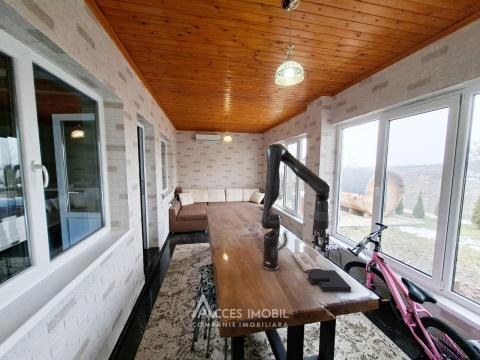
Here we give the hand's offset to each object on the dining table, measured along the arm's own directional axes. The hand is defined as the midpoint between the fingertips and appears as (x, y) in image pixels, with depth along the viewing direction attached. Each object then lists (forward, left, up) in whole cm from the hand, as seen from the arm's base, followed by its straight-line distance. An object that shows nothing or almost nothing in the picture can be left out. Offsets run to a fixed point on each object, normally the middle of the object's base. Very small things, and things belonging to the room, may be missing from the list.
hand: (319, 248), depth 103 cm
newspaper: (-21, +1, -19) cm, 28 cm away
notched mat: (+1, +6, -18) cm, 19 cm away
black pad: (+1, 0, -18) cm, 18 cm away
